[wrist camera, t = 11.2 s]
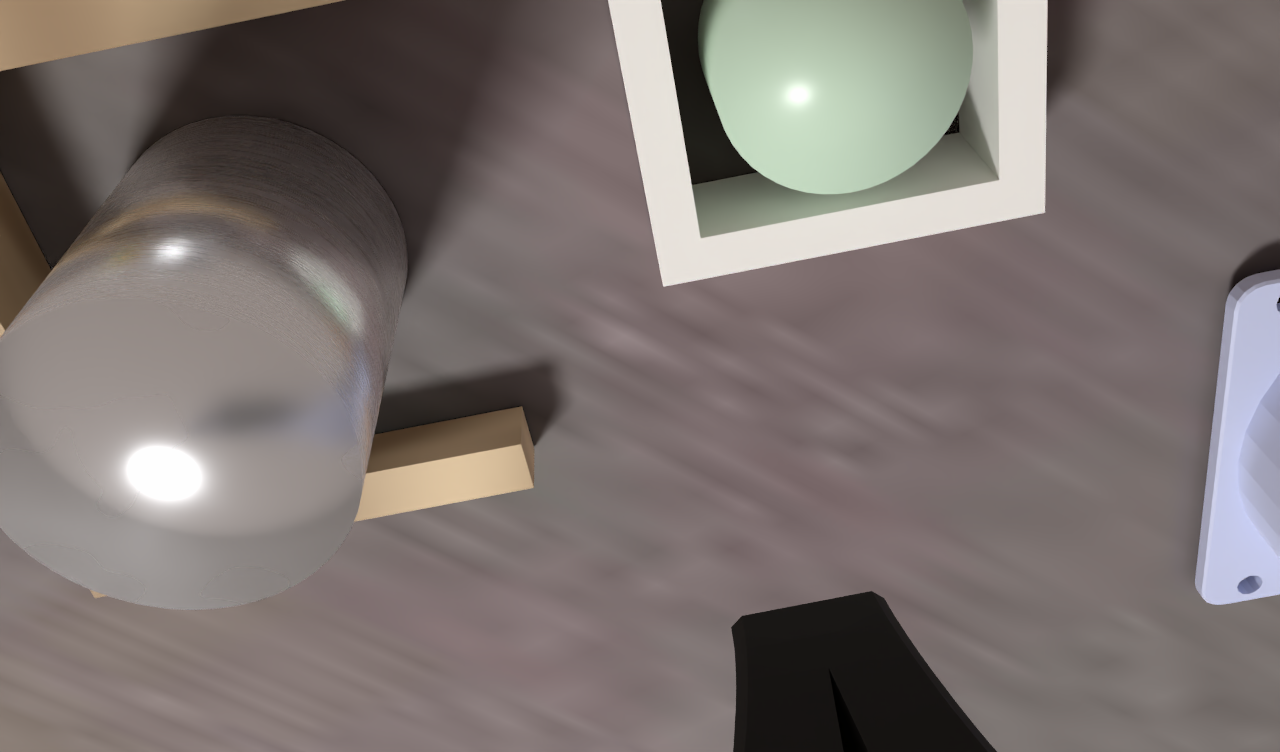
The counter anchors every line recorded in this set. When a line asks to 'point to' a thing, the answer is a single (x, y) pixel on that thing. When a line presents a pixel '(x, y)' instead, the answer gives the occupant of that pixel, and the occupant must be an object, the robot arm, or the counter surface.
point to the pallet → (15, 268)
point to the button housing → (832, 223)
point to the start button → (835, 84)
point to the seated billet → (205, 370)
